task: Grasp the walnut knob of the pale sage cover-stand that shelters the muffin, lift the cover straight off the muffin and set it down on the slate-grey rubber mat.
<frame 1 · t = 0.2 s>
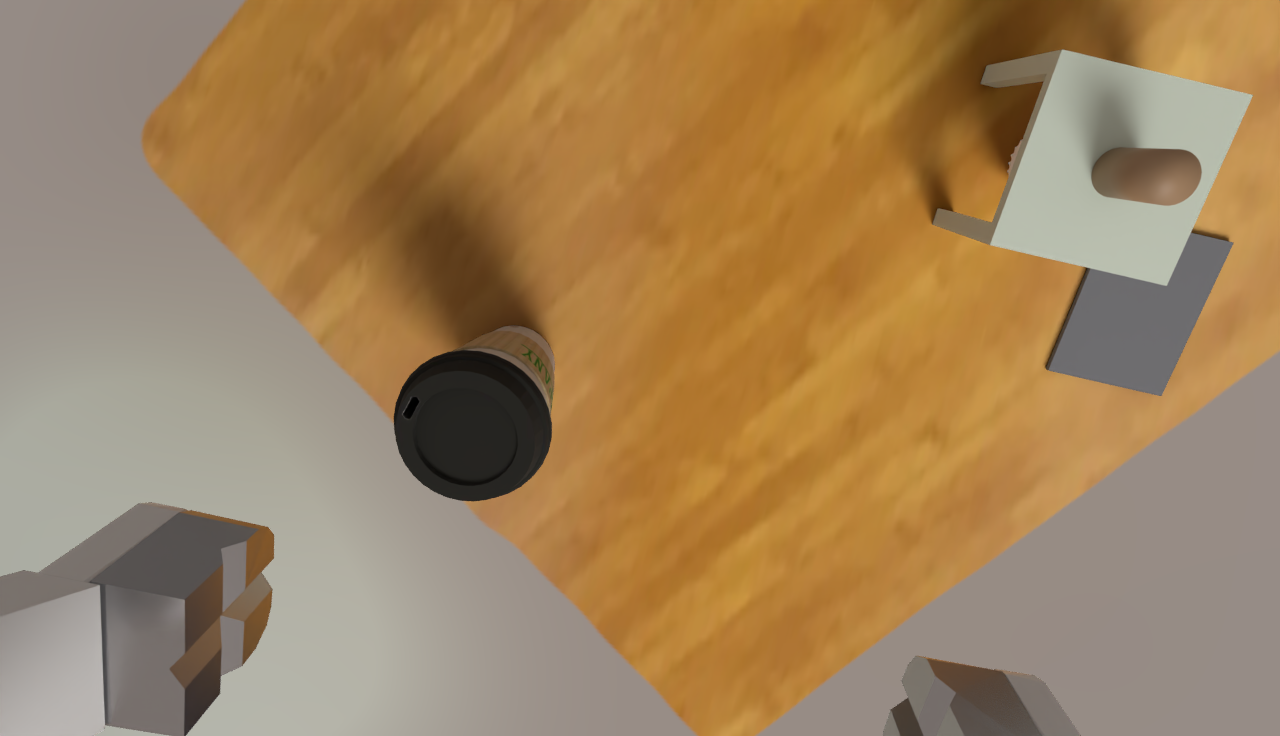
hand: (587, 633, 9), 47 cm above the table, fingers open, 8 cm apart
cover: (1033, 165, 52), on the table
coffee cup: (516, 362, 59), on the table
mat: (1134, 307, 55), on the table
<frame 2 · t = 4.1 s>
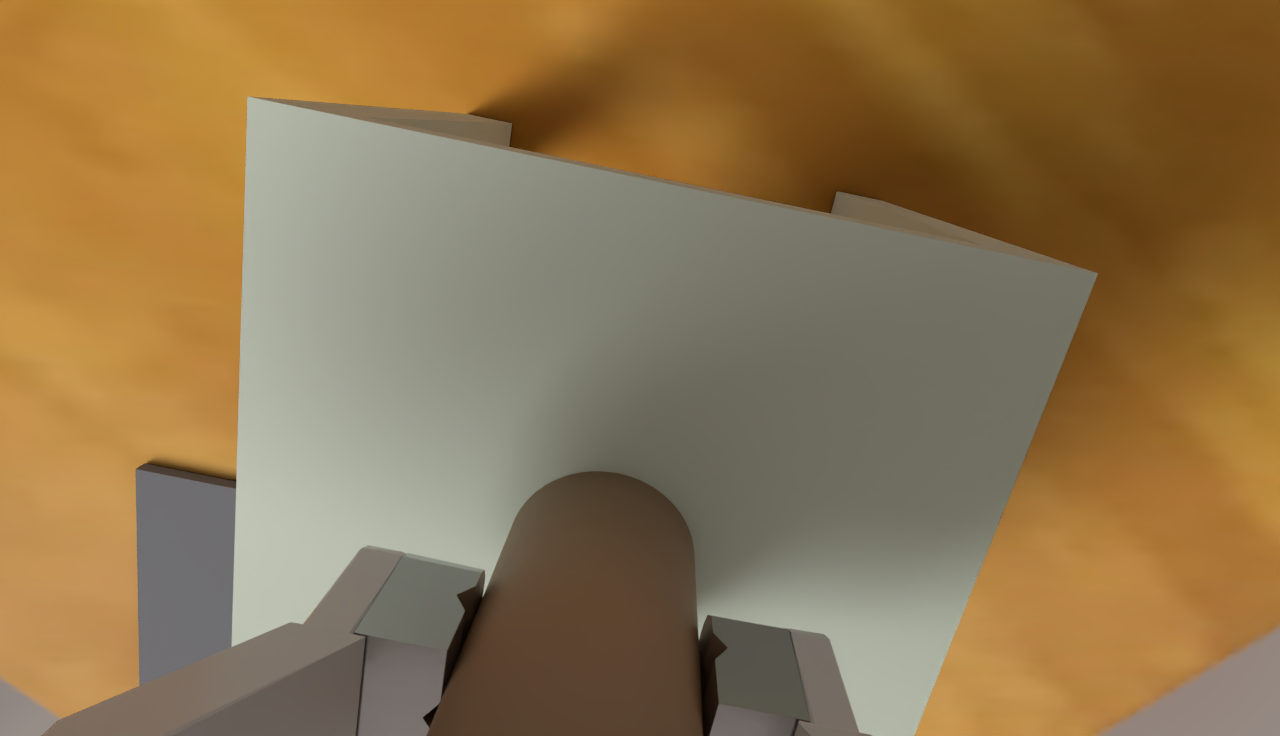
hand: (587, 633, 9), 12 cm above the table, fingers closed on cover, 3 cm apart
cover: (634, 355, 21), on the table, touching gripper
mat: (329, 622, 24), on the table
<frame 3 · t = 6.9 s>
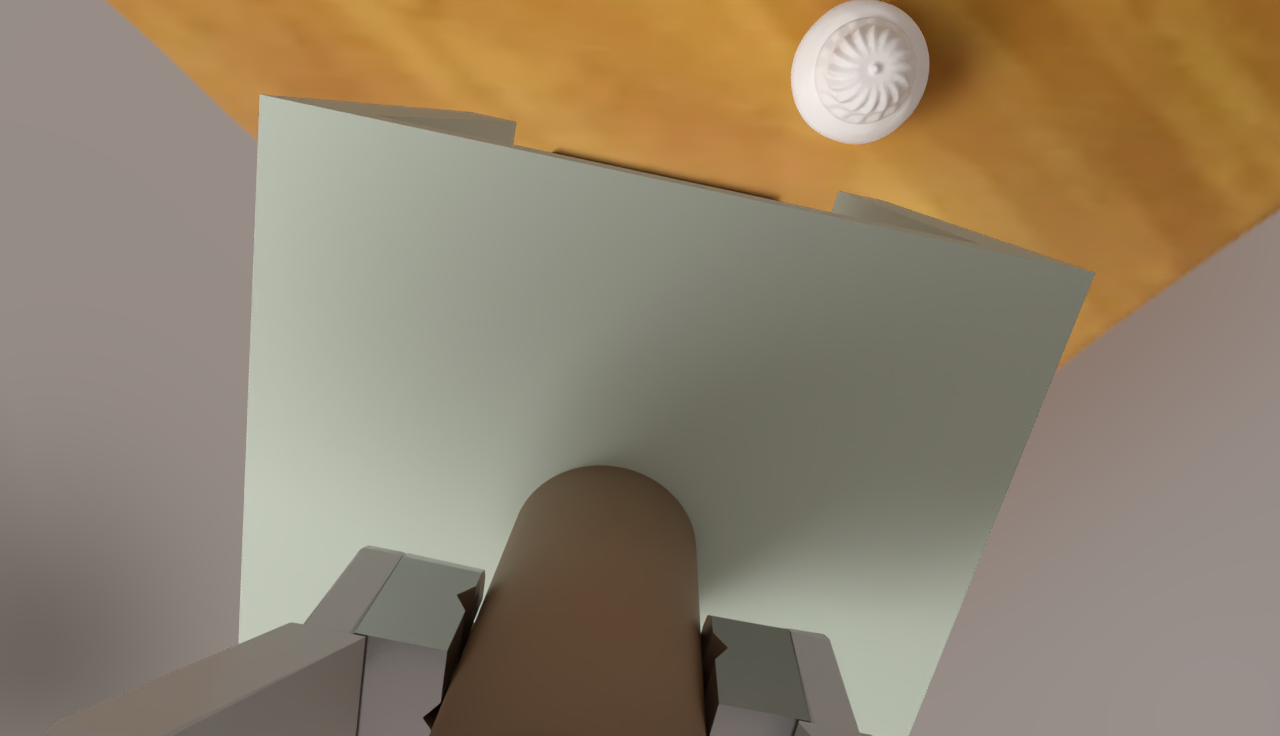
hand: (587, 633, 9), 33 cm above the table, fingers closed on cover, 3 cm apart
cover: (636, 353, 21), point 20 cm above the table, touching gripper
muffin: (843, 77, 37), on the table
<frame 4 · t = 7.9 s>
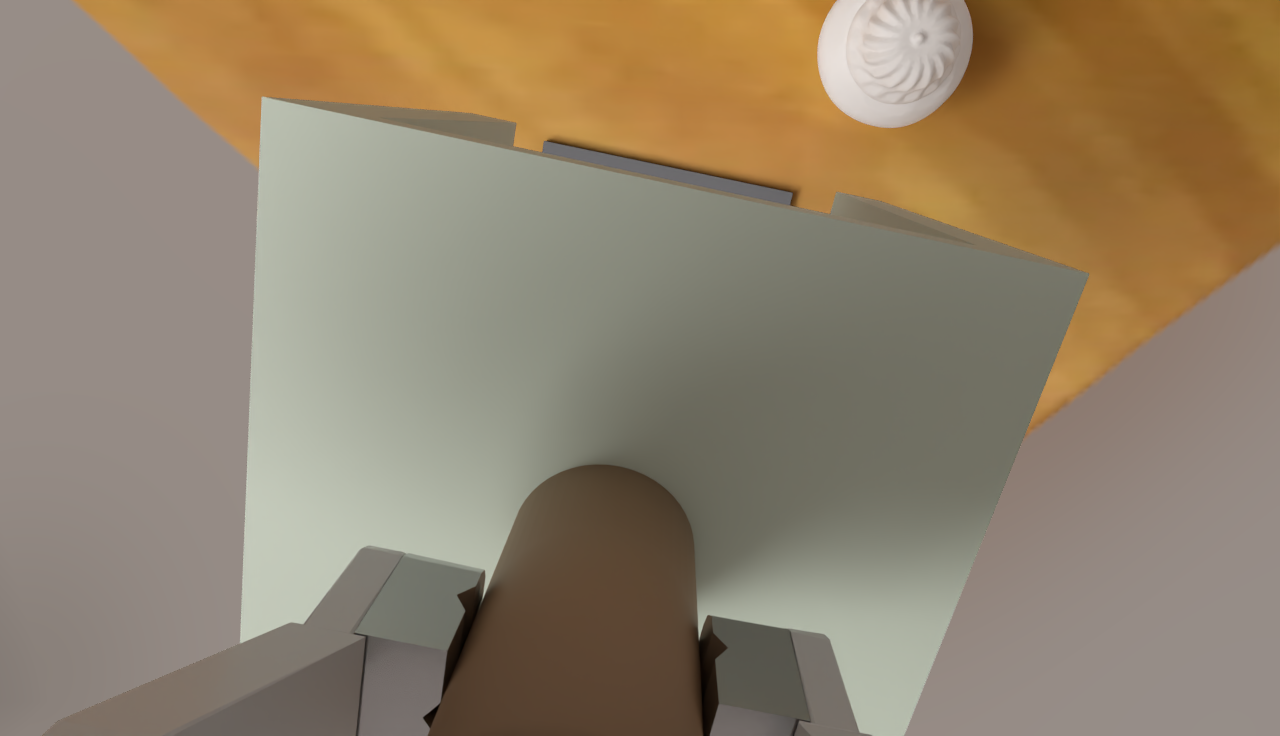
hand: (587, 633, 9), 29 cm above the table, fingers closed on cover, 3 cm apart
cover: (635, 353, 21), point 16 cm above the table, touching gripper
muffin: (870, 57, 34), on the table
mat: (650, 258, 37), on the table
when the fingers open (14 cm above the table, at t = 10.7 s): cover stays where it is, resting on mat.
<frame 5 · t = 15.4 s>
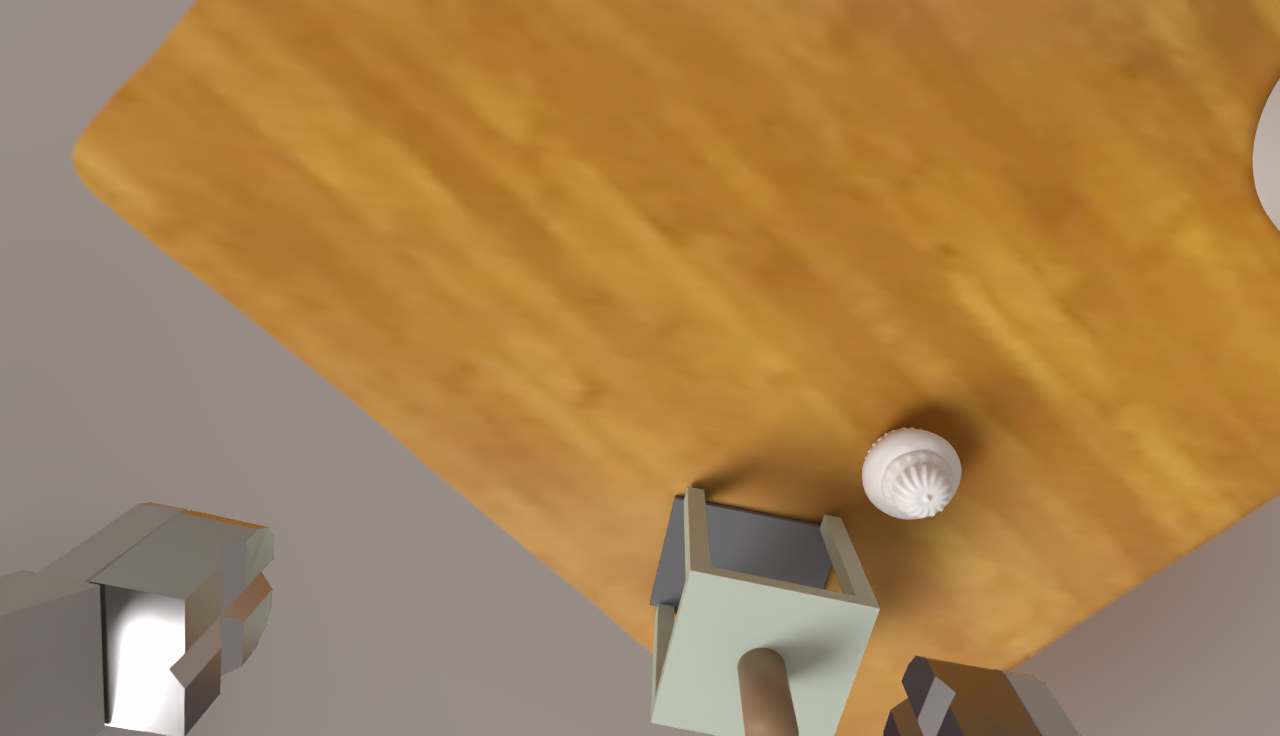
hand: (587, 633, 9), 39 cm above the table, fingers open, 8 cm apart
cover: (745, 568, 53), resting on mat
muffin: (894, 450, 51), on the table
mat: (743, 566, 54), on the table
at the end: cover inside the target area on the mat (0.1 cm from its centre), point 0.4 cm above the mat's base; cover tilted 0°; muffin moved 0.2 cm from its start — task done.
